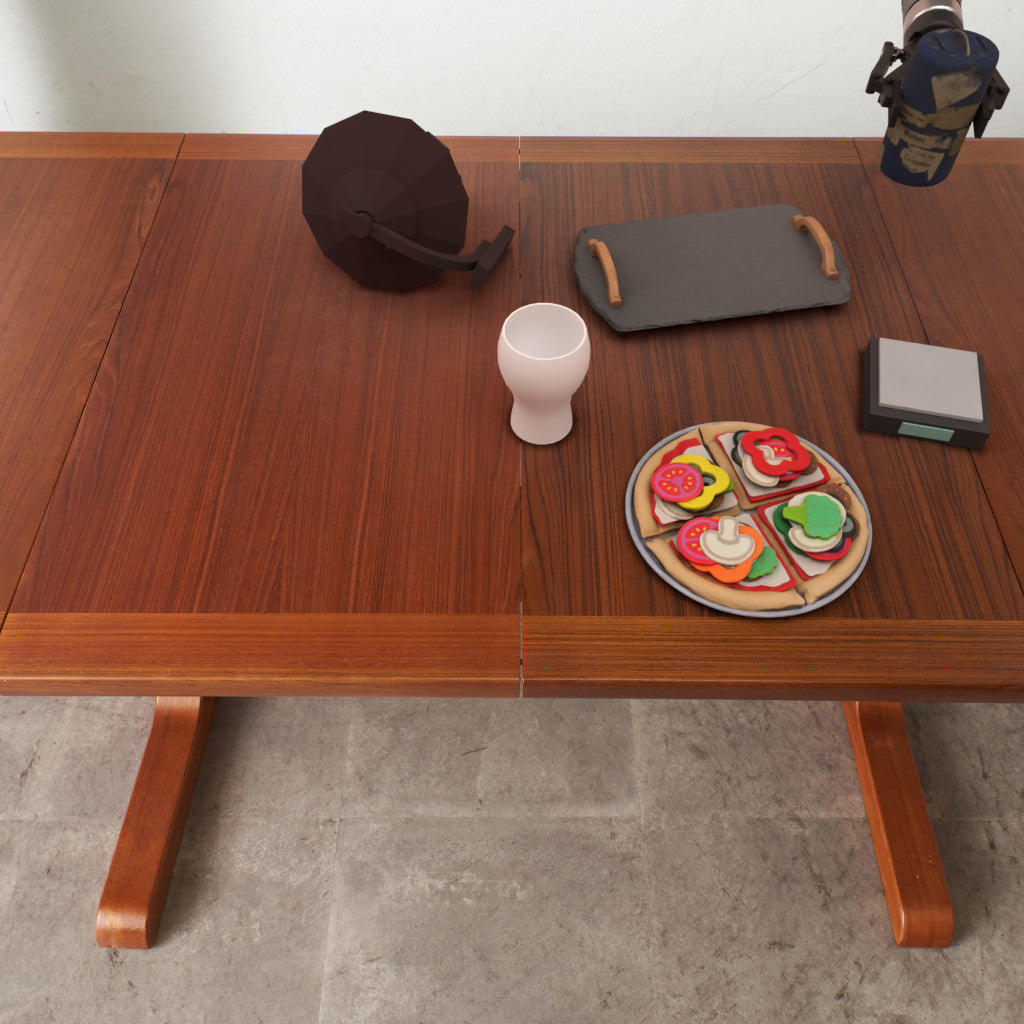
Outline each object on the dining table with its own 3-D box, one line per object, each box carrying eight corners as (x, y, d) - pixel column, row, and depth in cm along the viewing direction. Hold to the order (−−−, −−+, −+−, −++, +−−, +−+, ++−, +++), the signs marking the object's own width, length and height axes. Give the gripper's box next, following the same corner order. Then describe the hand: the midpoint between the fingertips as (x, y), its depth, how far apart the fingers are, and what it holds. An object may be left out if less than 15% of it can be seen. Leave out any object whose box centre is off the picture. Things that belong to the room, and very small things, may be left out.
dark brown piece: (386, 50, 129) (304, 85, 105) (559, 156, 132) (518, 213, 108) (330, 197, 143) (247, 257, 119) (488, 290, 146) (438, 367, 122)
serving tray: (595, 349, 120) (598, 313, 115) (557, 244, 134) (559, 208, 129) (866, 313, 124) (881, 277, 119) (803, 215, 138) (814, 178, 133)
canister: (872, 187, 118) (922, 48, 103) (873, 148, 123) (921, 11, 109) (948, 198, 116) (1010, 58, 102) (946, 158, 122) (1004, 20, 107)
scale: (973, 371, 117) (984, 351, 115) (980, 451, 109) (993, 431, 106) (863, 354, 119) (871, 333, 117) (862, 431, 111) (871, 411, 108)
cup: (563, 382, 116) (569, 290, 104) (597, 440, 110) (607, 349, 98) (486, 404, 114) (483, 312, 102) (517, 464, 108) (517, 373, 96)
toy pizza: (788, 404, 114) (797, 380, 110) (918, 578, 98) (933, 555, 95) (587, 462, 108) (589, 437, 105) (691, 655, 93) (698, 634, 89)
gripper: (1006, 74, 124) (1020, 162, 111) (841, 55, 127) (836, 139, 114) (1031, 17, 118) (1049, 104, 105) (857, -1, 121) (854, 81, 108)
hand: (938, 122), depth 110 cm, fingers closed on canister, 9 cm apart
